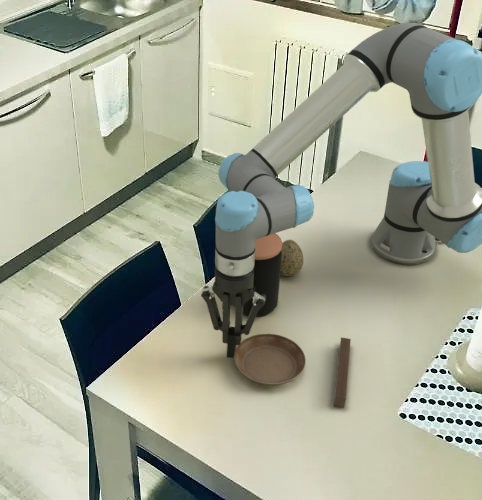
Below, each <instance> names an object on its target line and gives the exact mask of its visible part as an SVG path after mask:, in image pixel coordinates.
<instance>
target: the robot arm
mask: <svg viewBox="0 0 482 500" xmlns="http://www.w3.org/2000/svg"><path fill="white" fill-rule="evenodd" d="M390 83H393V84H394V85H396V86H399V87H400V88H403V89H405V90H406V91H407V92H408V94H409V101H410V107H411V110H412V112H413V114H414V115H415V116H416V117H418V118H420V119H421V125H422V131H423V137H424V144H425V145H424V146H425V152H426V159H427V161H426V160H425V161H424V160H413V161H412V160H411V161H405V162H403V163H400V164H398V165H397V166H396V167H394V169H393V170H392V173H391V176H390V180H389V182H388V190H387V195H386V202H385V208H384V213H383V217H382V219H381V221H380V222H379V224H378V225H377V226H376V229H375V230H374V232H373V233H372V236H371V237H372V238H371V247H372V249H373V251H374V252H375V253H376V254H377V255H378V256H380V257H381V258H382V259H385V260H386V261H389V262H391V263H394V264H399V265H409V266H411V265H420V264H424V263H426V262H428V261H430V260H431V259H432V258H433V257H434V256H435V251H436V248H437V242H441V243H443V244H444V245H446V247H447V248H449V249H451V250H453V251H455V252H456V253H458V254H467V253H470V252H472V251H475V250H476V249H477V248H479V247H480V246H482V187H481V186H480V185H479V184H478V183H476V182H475V172H474V161H473V149H472V139H471V125H470V117H469V116H470V115H469V110H470V109H472V107H473V105H474V104H475V103H476V102H477V101H478V100H479V99H480V98H481V96H482V52H481V51H480V49H479V50H478V48H476V47H474V46H472V45H471V44H469V43H468V42H466V41H464V40H461V39H457V38H454V37H452V36H450V35H446V34H444V33H442V32H439V31H437V30H434V29H431V28H429V27H427V26H425V25H423V24H420V23H416V22H404V23H403V22H401V23H397V24H394V25H391V26H388V27H385V28H383V29H381V30H379V31H377V32H375V33H373V34H371V35H370V36H368V37H367V38H365V39H364V40H362V41H361V42H360V43H359V44H357V45H356V46H355V47H354V48H352V49H351V50H350V51H349V52H348V53H347V54H346V55H345V56H344V57H343V65H342V66H341V67H339V68H338V69H337V70H336V71H335V72H334V73H333V74H332V75H331V76H330V77H329V78H327V79H326V80H325V81H324V82H323V83H322V84H321V85H320V86H318V88H316V89H315V90H314V91H313V92H312V93H311V94H310V95H309V96H308V97H307V98H306V99H304V101H302V102H301V103H300V104H299V105H298V106H297V107H295V109H294V110H292V111H291V112H290V113H289V114H288V115H287V116H286V117H285V118H284V119H283V120H282V121H280V122H279V124H277V125H276V126H275V127H274V128H273V129H272V130H271V131H269V133H268V134H267V135H265V136H264V137H263V138H262V139H261V140H259V142H258V143H257V144H255V145H254V146H253V147H252V149H251V150H249V151H248V152H247V153H246V154H243V153H240V152H235V153H233V154H232V153H231V154H229V155H228V156H226V157H225V158H224V159H223V160H222V161H221V164H220V165H219V167H218V172H217V173H218V174H217V175H218V179H219V181H220V183H221V184H222V185H223V186H224V187H225V188H226V189H227V192H225V193H223V194H222V195H221V196H220V197H219V198H218V200H217V203H216V208H215V217H214V222H215V249H214V250H215V251H214V253H215V256H214V264H215V265H214V266H215V267H214V282H213V284H212V286H209V285H204V286H203V289H202V291H201V296H200V297H201V299H203V301H204V302H205V304H206V307H207V310H208V313H209V317H210V320H211V324H212V328H213V330H215V331H221V332H222V335H221V336H222V338H221V342H222V343H223V344H226V358H228V359H234V353H235V350H236V348H237V346H238V345H240V343H241V342H242V338H243V337H242V335H245V336H248V335H249V334H251V333H250V332H251V330H252V327H253V325H254V323H255V320H256V318H257V317H256V316H257V313H258V311H259V310H260V309H261V308H262V307H263V306H264V304H265V299H266V295H264V294H261V295H259V294H258V293H256V292H255V291H256V290H255V287H254V285H253V280H254V263H255V246H256V240H257V239H259V238H262V237H265V236H268V235H271V234H274V233H276V234H278V233H280V232H283V231H286V230H289V229H295V228H296V227H297V226H300V225H302V224H304V223H307V222H309V221H310V220H311V219H312V217H313V216H314V212H315V211H314V209H315V202H314V199H313V196H312V194H311V192H310V190H308V188H307V187H305V186H304V185H301V184H295V185H288V186H287V187H286V186H284V185H283V184H281V183H280V182H279V181H278V180H276V178H277V177H278V176H279V175H280V174H281V173H282V172H284V170H285V169H287V168H288V166H290V165H291V164H292V163H293V162H294V161H295V160H297V159H298V157H300V156H301V155H302V154H303V153H304V152H305V151H307V150H308V149H309V148H310V147H311V146H312V145H313V144H314V143H315V142H317V140H318V139H320V138H321V137H322V136H323V135H324V134H325V133H326V132H327V131H328V130H329V129H330V128H332V127H333V126H334V125H335V124H336V123H337V122H339V120H340V119H341V118H342V117H343V116H345V115H346V114H347V113H348V112H349V111H350V110H351V109H353V108H354V107H355V106H356V105H357V104H358V103H359V102H360V101H361V100H362V99H364V98H365V97H366V96H367V95H368V94H369V93H378V92H379V91H380V90H381V89H382V88H383V87H384V86H385V85H388V84H390ZM216 297H217V298H218V299H219V301H220V302H221V303H222V306H221V307H222V308H221V309H222V317H221V313H220V310H219V306H218V303H217V298H216ZM252 298H253V306H252V309H251V311H250V314H249V316H247V319H246V322H245V324H244V315H243V305H245V304H246V303H247V302H248V301H249V300H250V299H252ZM232 306H233V307H234V306H235V307H234V326H231V323H232V322H231V312H232Z"/></svg>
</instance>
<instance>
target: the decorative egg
mask: <svg viewBox="0 0 482 500" xmlns="http://www.w3.org/2000/svg"><path fill="white" fill-rule="evenodd" d="M282 243H283V244H282V249H281V251H282V258H281V270H280V275H282V276H285V277H293V276H295V275H297V274H298V273H299V272H300V271H301V269H302V268H303V265H304V259H305V258H304V253H303V251H302V248H301V247H300V245H299V244H298V242H296V241H295V240H293V239H287V240H284V241H282Z"/></svg>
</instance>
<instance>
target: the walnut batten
mask: <svg viewBox="0 0 482 500" xmlns="http://www.w3.org/2000/svg"><path fill="white" fill-rule="evenodd" d="M351 340H352V339H351V338H347V337H342V336H341V337H340V342H339V348H338V359H337V367H336V368H337V369H336V379H335V388H334V389H335V390H334V399H333V407H334V408H340V409H345V405H346V398H347V388H348V387H347V386H348V375H349V363H350V351H351Z"/></svg>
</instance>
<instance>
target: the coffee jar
mask: <svg viewBox="0 0 482 500" xmlns="http://www.w3.org/2000/svg"><path fill="white" fill-rule="evenodd" d="M282 244H283V240H282V238H281V236H280V235H279V234H278V233H274V234H271V235H268V236H265V237H262V238H259V239H257V240H256V246H255V263H254V280H253V285H254V287H255V290H256V291H255V292H256V293H258V294H259V295H261V294H264V295H266V299H265V304H264V306H263V307H262V308H261V309H260V310H259V311H258V313H257V316H256V318H262V317H266V316H268V315H269V314H271V313H272V312H274V310H275V309H276V308H277V306H278V303H279V292H280V281H281V280H280V279H281V274H280V270H281V258H282V251H281V249H282ZM252 306H253V298H252V299H250V300H249V301H248V302H247V303H246V304H245V305H243V316H246V317H248V316H249V314H250V311H251V309H252ZM233 307H234V308H235V306H233Z"/></svg>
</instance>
